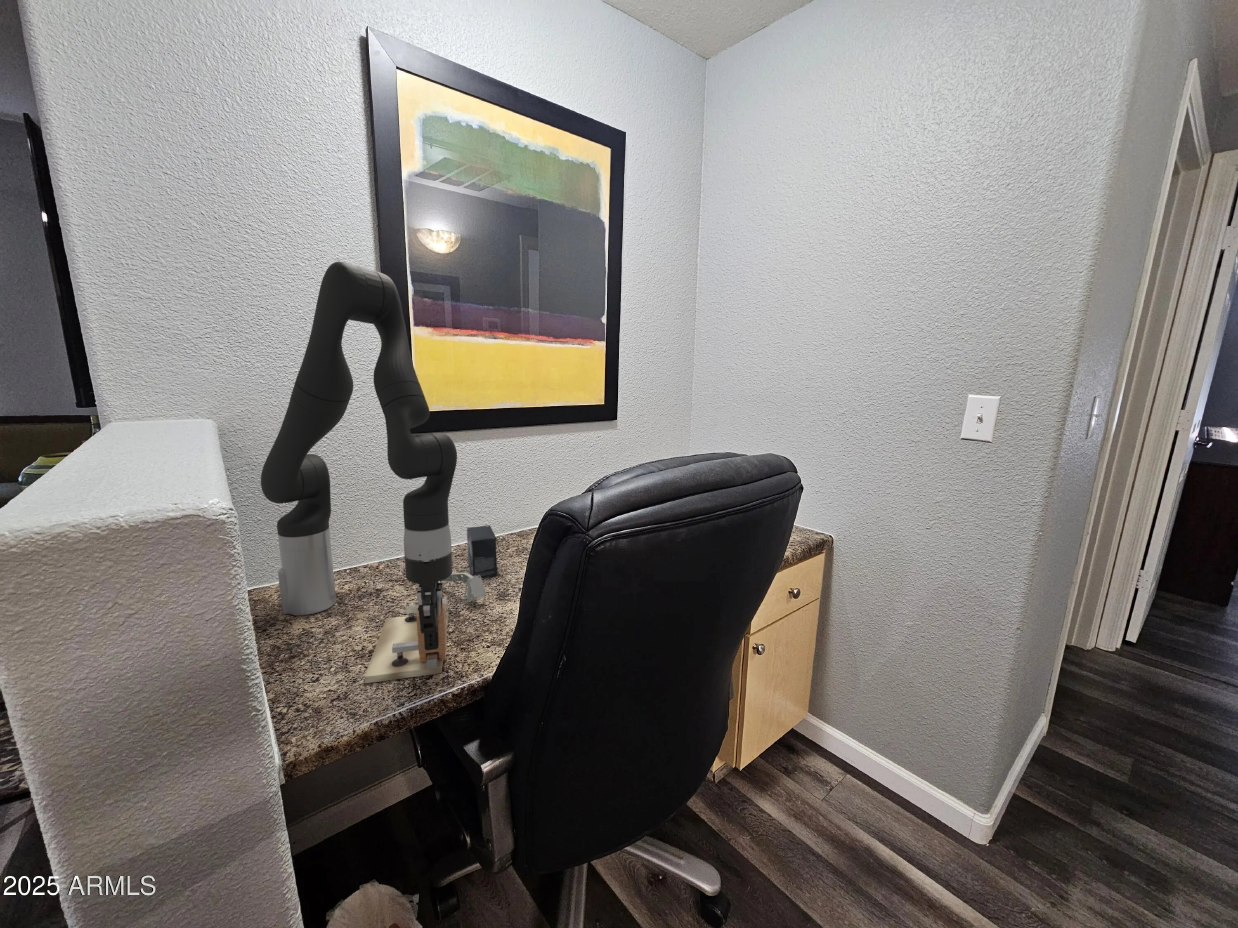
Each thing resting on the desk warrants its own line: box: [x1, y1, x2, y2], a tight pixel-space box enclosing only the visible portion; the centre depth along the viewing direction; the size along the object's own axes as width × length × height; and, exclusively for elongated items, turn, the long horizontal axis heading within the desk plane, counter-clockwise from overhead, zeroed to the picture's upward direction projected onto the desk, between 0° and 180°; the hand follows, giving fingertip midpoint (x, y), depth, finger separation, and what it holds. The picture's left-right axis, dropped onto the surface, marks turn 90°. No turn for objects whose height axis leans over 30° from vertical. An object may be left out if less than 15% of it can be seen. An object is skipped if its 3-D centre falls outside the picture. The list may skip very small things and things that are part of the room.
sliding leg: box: [392, 603, 448, 662], centre depth 85 cm, size 9×4×9 cm, turn 106°
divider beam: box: [405, 599, 449, 669], centre depth 92 cm, size 8×20×3 cm, turn 16°
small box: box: [466, 524, 499, 579], centre depth 126 cm, size 11×6×10 cm, turn 23°
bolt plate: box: [363, 611, 449, 684], centre depth 92 cm, size 12×20×1 cm, turn 16°
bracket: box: [442, 572, 487, 603], centre depth 114 cm, size 3×21×10 cm, turn 53°
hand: (433, 641), depth 86 cm, fingers closed on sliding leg, 4 cm apart
